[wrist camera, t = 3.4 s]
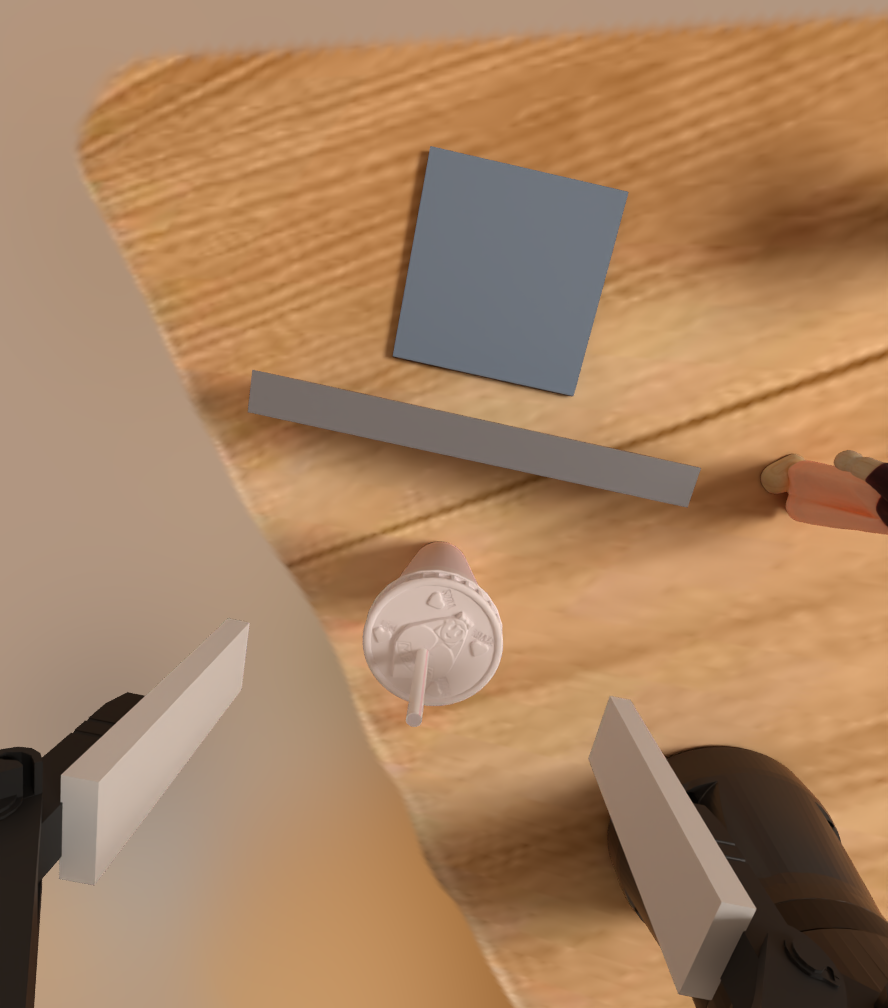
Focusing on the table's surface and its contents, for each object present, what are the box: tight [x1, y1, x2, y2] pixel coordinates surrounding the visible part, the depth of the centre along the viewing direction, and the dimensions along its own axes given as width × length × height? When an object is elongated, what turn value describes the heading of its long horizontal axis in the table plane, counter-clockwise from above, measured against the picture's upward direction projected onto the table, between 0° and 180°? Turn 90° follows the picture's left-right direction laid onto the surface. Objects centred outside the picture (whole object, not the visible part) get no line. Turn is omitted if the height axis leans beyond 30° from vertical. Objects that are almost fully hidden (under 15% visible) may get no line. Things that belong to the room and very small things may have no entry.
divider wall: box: [248, 370, 701, 507], centre depth 24 cm, size 2×22×6 cm, turn 78°
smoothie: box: [363, 542, 503, 727], centre depth 22 cm, size 6×6×14 cm
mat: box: [393, 146, 628, 396], centre depth 25 cm, size 11×11×1 cm
